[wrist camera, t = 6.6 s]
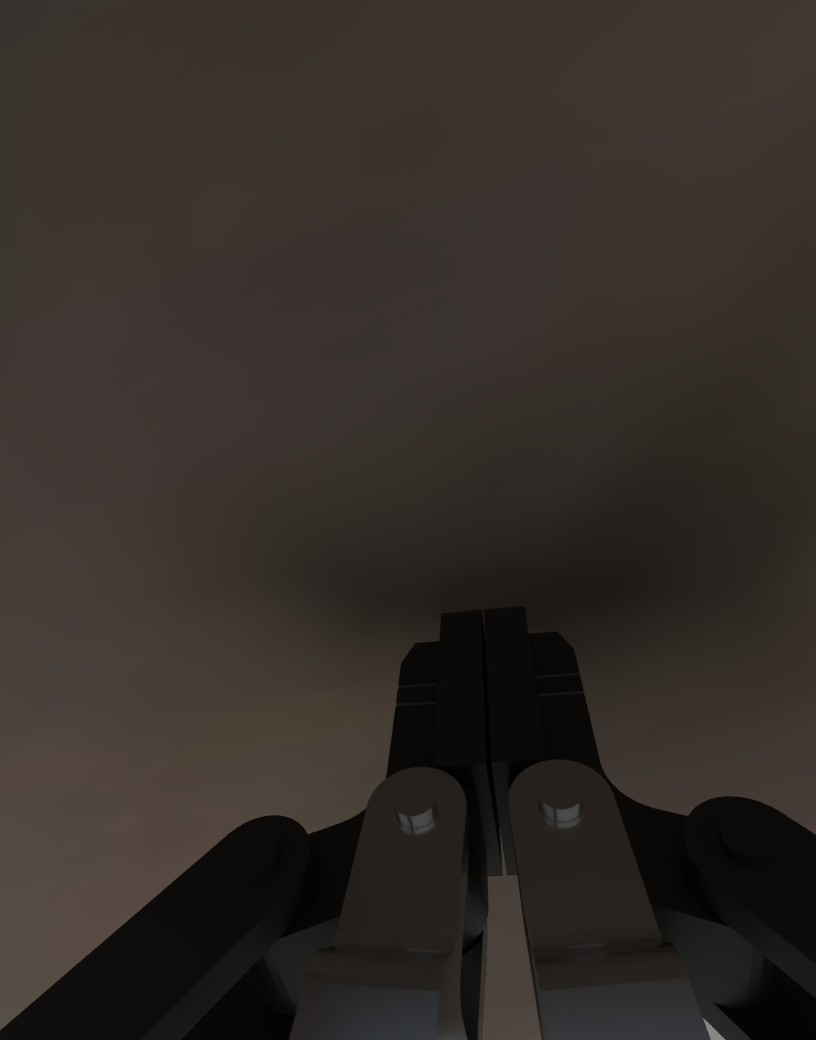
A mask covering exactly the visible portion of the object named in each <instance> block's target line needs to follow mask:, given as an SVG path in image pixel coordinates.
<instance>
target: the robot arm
mask: <svg viewBox="0 0 816 1040" xmlns="http://www.w3.org/2000/svg"><path fill="white" fill-rule="evenodd" d="M484 616H485V632H484V624H483V617H482V611H481V610H474V611H462V612H450V613H442V614H441V625H440V641H438V642H426V643H415V644H414V646H413V647H412V648H411V650H410V651H409V653H408V654H407V656H406V657H405V658H404V660H403V661H402V663H401V669H400V676H399V684H398V685H399V689H398V692H397V699H396V707H395V715H394V723H393V730H392V738H391V746H390V753H389V761H388V769H387V775H386V779H385V780H384V781H383V782H382V783H381V784H380V785H378V787H377V788H376V789H375V790H374V792H373V793H372V795H371V797H370V799H369V801H368V804H367V808H366V809H365V810H363V811H362V812H361V813H359V814H358V815H356V816H354V817H353V818H351V819H349V820H347V821H344V822H342V823H339V824H336V825H333V826H331V827H328V828H325V829H322V830H319V831H316V832H313V833H310V834H307V832H306V831H305V829H304V828H303V827H302V826H301V825H300V824H299V823H298V822H296V821H295V820H293V819H291V818H288V817H284V816H279V815H270V816H264V817H259V818H256V819H253V820H251V821H248V822H246V823H244V824H242V825H241V826H239V827H237V828H236V829H235V830H233V831H232V832H231V833H229V834H228V835H227V836H226V837H225V838H223V839H222V840H221V841H220V842H219V843H218V844H217V845H215V846H214V847H213V848H212V849H211V850H210V851H208V852H207V853H206V854H205V855H204V856H203V857H201V858H200V859H199V860H198V861H197V862H196V863H194V864H193V865H192V866H191V867H190V868H189V869H187V870H186V871H185V872H184V873H183V874H182V875H180V876H179V877H178V878H177V879H176V880H175V881H173V882H172V883H171V884H170V885H169V886H168V887H166V888H165V889H164V890H163V891H162V892H161V893H160V894H158V895H157V896H156V897H155V898H154V899H153V900H151V901H150V902H149V903H148V904H147V905H146V906H144V907H143V908H142V909H141V910H140V911H139V912H137V913H136V914H135V915H134V916H133V917H132V918H130V919H129V920H128V921H127V922H126V923H125V924H123V925H122V926H121V927H120V928H119V929H118V930H116V931H115V932H114V933H113V934H112V935H111V936H109V937H108V938H107V939H106V940H105V941H104V942H103V943H101V944H100V945H99V946H98V947H97V948H96V949H94V950H93V951H92V952H91V953H90V954H89V955H87V956H86V957H85V958H84V959H83V960H82V961H80V962H79V963H78V964H77V965H76V966H75V967H73V968H72V969H71V970H70V971H69V972H68V973H66V974H65V975H64V976H63V977H62V978H61V979H59V980H58V981H57V982H56V983H55V984H54V985H52V986H51V987H50V988H49V989H48V990H47V991H46V992H44V993H43V994H42V995H41V996H40V997H39V998H37V999H36V1000H35V1001H34V1002H33V1003H32V1004H30V1005H29V1006H28V1007H27V1008H26V1009H25V1010H23V1011H22V1012H21V1013H20V1014H19V1015H18V1016H16V1017H15V1018H14V1019H13V1020H12V1021H11V1022H9V1023H8V1024H7V1025H6V1026H5V1027H4V1028H2V1029H1V1030H0V1040H483V1030H484V1007H485V984H486V962H487V939H488V928H487V916H488V879H487V876H503V875H502V857H501V838H500V829H501V836H502V843H503V850H504V857H505V864H506V871H507V875H518V883H519V891H520V899H521V906H522V914H523V922H524V930H525V937H526V943H527V949H528V956H529V962H530V969H531V975H532V982H533V988H534V995H535V1001H536V1007H537V1014H538V1020H539V1027H540V1033H541V1040H710V1037H709V1034H708V1031H707V1028H706V1025H705V1023H704V1020H703V1018H704V1019H705V1020H706V1021H707V1022H708V1023H709V1024H710V1025H711V1026H712V1027H713V1028H714V1029H716V1031H717V1032H718V1033H719V1034H720V1035H721V1036H722V1037H723V1038H725V1039H726V1040H816V835H815V834H814V833H812V832H811V831H809V830H807V829H806V828H804V827H803V826H801V825H800V824H798V823H797V822H795V821H794V820H792V819H790V818H789V817H787V816H786V815H784V814H783V813H781V812H780V811H778V810H776V809H774V808H772V807H771V806H768V805H766V804H764V803H761V802H759V801H755V800H752V799H748V798H742V797H731V796H727V797H717V798H713V799H709V800H707V801H705V802H703V803H701V804H699V805H698V806H697V807H695V808H694V809H693V810H692V811H691V813H690V814H689V815H688V816H685V815H681V814H676V813H672V812H668V811H663V810H659V809H655V808H652V807H648V806H645V805H643V804H641V803H638V802H636V801H634V800H632V799H631V798H629V797H627V796H626V795H624V794H623V793H622V792H620V791H619V790H618V789H617V788H616V787H615V786H614V785H613V784H612V783H611V782H610V781H609V779H608V778H607V777H606V775H605V773H604V771H603V769H602V766H601V763H600V759H599V755H598V751H597V747H596V742H595V738H594V734H593V729H592V725H591V721H590V716H589V712H588V708H587V703H586V699H585V695H584V692H583V686H582V682H581V678H580V675H579V669H578V665H577V660H576V656H575V652H574V649H573V648H572V647H571V646H570V645H569V644H568V642H567V641H566V640H565V639H564V638H563V637H562V636H561V635H560V634H559V633H558V632H547V633H534V634H528V629H527V621H526V614H525V607H524V606H518V607H506V608H495V609H484ZM485 638H486V640H485Z"/></svg>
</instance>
